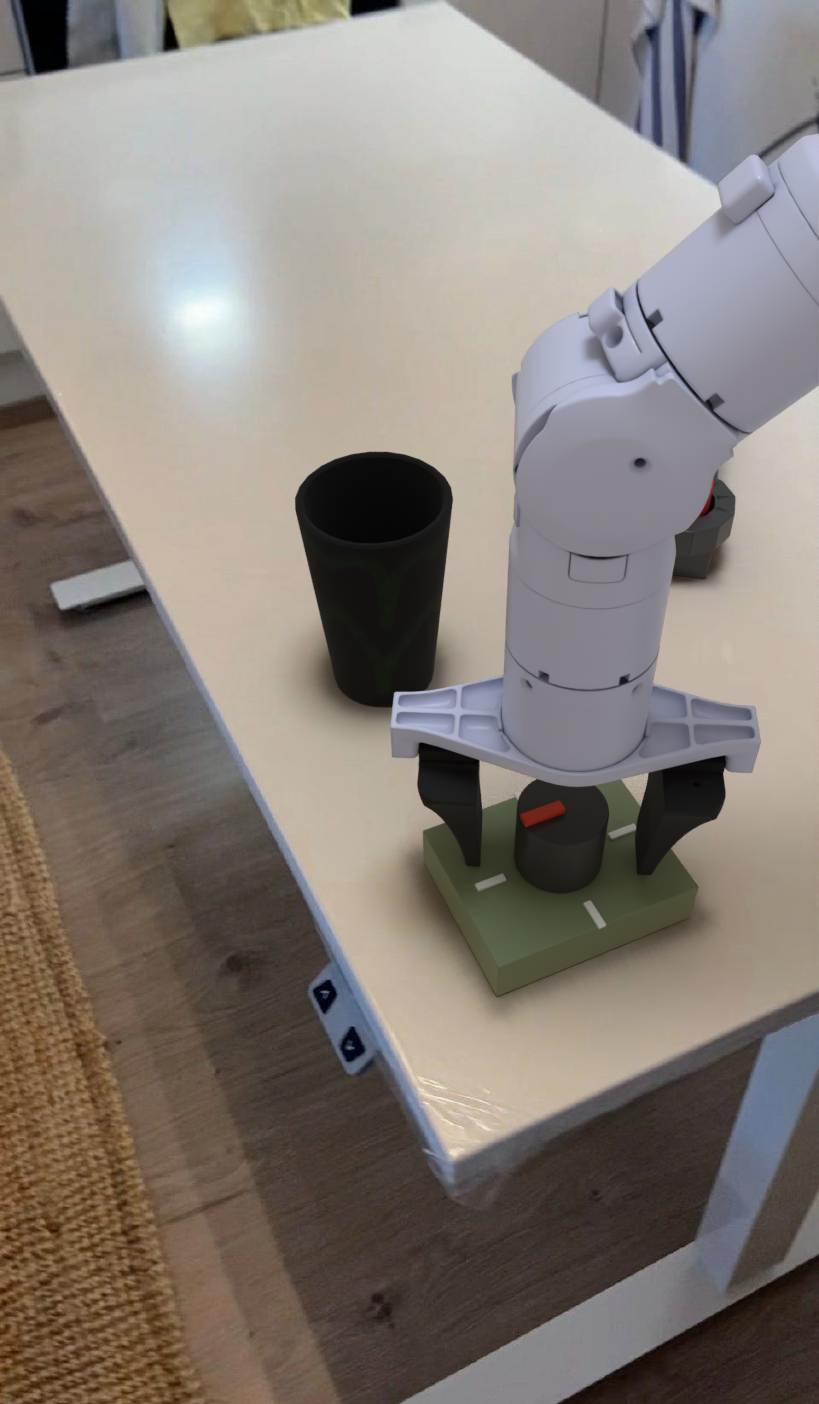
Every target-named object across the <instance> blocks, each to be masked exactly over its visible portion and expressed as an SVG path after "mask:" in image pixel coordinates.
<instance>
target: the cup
mask: <svg viewBox="0 0 819 1404" xmlns="http://www.w3.org/2000/svg"><path fill="white" fill-rule="evenodd" d="M453 503H454V497H453V491H452V486H451V484H450V483H449V482H448V480H447V478H446V476H445V475H444V474H443V473H441V471H439V470H438V469H437V468H436V467H435V466H433V465H431V464H430V463H428V462H425V461H424V460H423V459H421V458H417V457H414V456H411V455H408V454H405V453H398V452H393V451H392V452H391V451H364V452H357V453H350V454H348V455H347V454H346V455H343V456H341V457H337V458H334V459H332V460H330V461H328V462H326V463H324V464H322V465H320V466H319V467H318V468H316V469H315V470H314V471H312V472H311V473H310V474H308V475H307V477H305V478H304V479H303V481H302V482H301V484H300V485H299V487H298V489H297V491H296V494H295V496H294V510H295V515H296V519H297V523H298V528H299V533H300V536H301V541H302V544H303V549H304V554H305V557H306V561H307V567H308V570H309V574H310V575H309V576H310V579H311V583H312V587H313V593H314V597H315V600H316V605H317V609H318V612H319V613H318V614H319V618H320V621H321V626H322V630H323V634H324V638H325V642H326V646H327V652H328V655H329V659H330V663H331V667H332V672H333V673H332V674H333V676H334V680H335V683H336V686H337V687H338V689H339V690H340V691H341V692H342V693H343V694H344V695H345V696H346V697H347V698H349V699H351V700H352V701H354V702H357V703H359V704H362V705H365V706H368V707H369V706H370V707H375V708H376V707H377V708H389V707H393V699H394V693H395V692H419V691H427V690H428V688H429V686H430V684H431V682H432V680H433V676H434V672H435V664H436V656H437V655H436V654H437V646H438V639H439V638H438V636H439V627H440V618H441V611H442V601H443V593H444V585H445V576H446V575H445V574H446V567H447V566H446V565H447V556H448V547H449V539H450V530H451V522H452V521H451V520H452V513H453Z"/></svg>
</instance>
